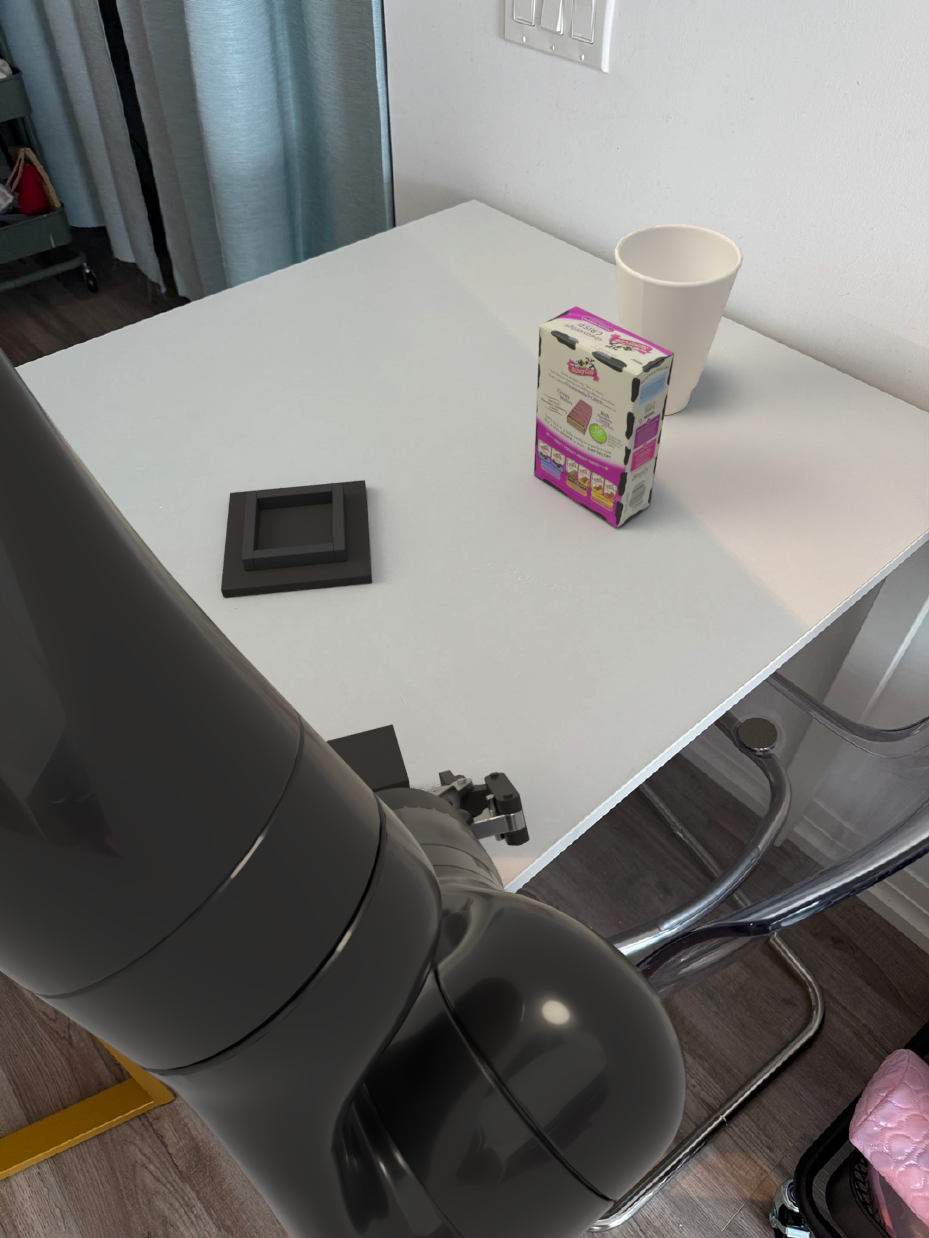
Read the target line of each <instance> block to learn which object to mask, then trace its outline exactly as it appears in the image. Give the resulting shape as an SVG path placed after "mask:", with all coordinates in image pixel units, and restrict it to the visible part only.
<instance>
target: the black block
mask: <svg viewBox="0 0 929 1238" xmlns="http://www.w3.org/2000/svg"><path fill="white" fill-rule="evenodd" d="M325 741H326V740H325ZM326 742H327V743H328V744H329V745H330V747H331V748H332V749H333V750H334V751H335V752H336V753H337V754H338V755H339V756H340V757H341V758H342V759H343V760H344V761H345V762H346V763H347V764H348V766H349V767H350V768H351V769H352V770H353V771H354V772H355V773H356V774H357V775H358V776H359V777H360V778H361V779H362V780H363V781H364V783H365V784H366V785H367V786H368V787H369V788H370V789H371V790H373V792H374V793H376V792H379V791H382V790H386V789H392V788H411V785H410V779H409V775H408V772H407V768H406V765H405V761H404V758H403V754H402V751H401V748H400V744H399V741H398V738H397V733H396V731H395V726H394V724H393V723H391V724H388V725H383V726H379V727H375V728H372V729H367V730H365V731H364V730H363V731H361V732H356V733H352V734H348V735H344V736H341V737H336V738H333V739H330V740H327V741H326Z"/></svg>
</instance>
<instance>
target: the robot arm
mask: <svg viewBox="0 0 929 1238" xmlns="http://www.w3.org/2000/svg"><path fill="white" fill-rule="evenodd" d="M438 778H439V783H440V785H437V786H432V787H431V788H429V789H428V790H424V789H420V788H413V787H410V788H392V789H386V790H382V791H379V792H376V793H374V792H373V790H371V789H370V788H369V787H368V786H367V785H366V784H365V783H364V781H363V780H362V779H361V778H360V777H359V776H358V775H357V774H356V773H355V772H354V771H353V770H352V769H351V768H350V767H349V766H348V764H347V763H346V762H345V761H344V760H343V759H342V758H341V757H340V756H339V755H338V754H337V753H336V752H335V751H334V750H333V749H332V748H331V747H330V745H329V744H328V743H327V742H326V739H324V738H323V737H322V736H321V735H320V734H319V733H318V731H317V730H316V729H314V727H313V726H312V725H311V724H310V722H308V721H307V720H306V719H305V717H303V715H302V714H300V713H299V712H298V710H297V709H296V708H295V707H294V706H293V705H292V704H291V703H290V701H288V699H286V698H285V696H284V695H282V693H281V692H280V691H279V690H278V689H277V688H276V687H275V686H274V685H273V684H272V683H271V682H270V681H269V680H268V679H267V678H266V677H265V676H264V675H263V674H262V672H261V671H260V670H259V669H258V668H257V667H256V666H255V665H254V664H253V663H252V662H251V661H250V660H249V659H248V658H247V657H246V656H245V655H244V654H243V652H241V650H240V649H239V648H238V647H237V646H236V645H235V644H234V643H233V642H232V641H231V640H230V639H229V637H228V636H226V634H225V633H224V632H223V631H222V629H220V627H219V626H218V625H217V624H216V623H215V622H214V621H213V620H212V619H211V617H210V616H209V615H207V613H206V612H205V610H203V609H202V607H201V606H200V605H199V604H198V603H197V602H196V600H194V598H193V597H192V596H191V595H190V594H189V593H188V592H187V591H186V590H185V588H184V587H183V586H182V585H181V584H180V583H179V582H178V581H177V579H175V578H174V576H173V574H171V572H170V571H168V569H167V568H166V566H164V564H163V563H162V562H161V560H160V559H159V558H158V556H156V554H155V553H154V552H153V550H152V549H151V548H150V546H148V544H147V543H146V542H145V540H144V539H143V538H142V537H141V536H140V534H139V533H138V532H137V530H136V529H135V528H134V527H133V526H132V524H131V523H130V522H129V521H128V520H127V518H126V516H124V514H123V513H122V511H120V509H119V508H118V506H117V505H116V503H115V502H114V501H113V500H112V498H111V497H110V496H109V494H108V493H107V492H106V490H105V489H104V488H103V487H102V485H101V484H100V482H99V481H98V480H97V479H96V477H95V476H94V474H93V473H92V472H91V471H90V469H89V468H88V466H87V465H86V464H85V463H84V461H83V460H82V458H81V457H80V456H79V455H78V454H77V452H76V451H75V449H74V448H73V446H72V445H71V444H70V442H69V441H68V440H67V439H66V437H65V436H64V434H63V433H62V431H61V430H60V428H59V427H58V426H57V425H56V424H55V422H54V420H53V419H52V418H51V416H50V415H49V414H48V412H47V411H46V409H45V408H44V407H43V406H42V405H41V403H40V402H39V400H38V399H37V397H36V396H35V395H34V394H33V392H32V390H31V389H30V388H29V387H28V385H27V384H26V382H25V381H24V379H23V378H22V376H21V375H20V373H19V372H18V370H17V369H16V367H15V366H14V365H13V363H12V362H11V360H10V359H9V357H8V355H7V354H6V353H5V351H4V350H3V348H2V347H1V346H0V972H2V973H3V974H5V976H7V977H8V978H10V979H11V980H13V981H15V982H16V983H17V984H19V985H20V986H21V987H23V988H25V989H26V990H28V991H30V992H31V993H32V994H33V995H35V996H36V997H38V998H39V999H41V1001H43V1002H45V1003H46V1004H48V1005H49V1006H51V1007H52V1008H54V1009H55V1010H56V1011H58V1012H59V1013H61V1014H62V1015H64V1016H65V1017H67V1018H68V1019H69V1020H71V1021H72V1022H74V1023H75V1024H77V1025H78V1026H79V1027H80V1028H82V1029H84V1030H85V1031H87V1032H88V1033H90V1034H91V1035H92V1036H94V1037H96V1039H98V1040H100V1041H101V1042H102V1043H104V1044H105V1045H107V1046H108V1047H109V1048H111V1049H113V1050H114V1051H116V1052H117V1053H118V1054H120V1055H121V1056H123V1057H124V1058H126V1059H127V1060H128V1061H130V1062H132V1063H134V1064H135V1065H137V1066H139V1068H141V1069H142V1070H143V1071H145V1072H146V1073H148V1074H149V1075H151V1076H152V1077H154V1078H155V1079H157V1080H159V1082H161V1083H163V1084H164V1085H165V1086H167V1087H169V1088H170V1089H171V1090H172V1091H173V1092H174V1093H175V1094H176V1095H177V1096H178V1097H179V1098H180V1099H181V1100H182V1101H183V1102H184V1103H185V1104H186V1105H187V1106H188V1107H189V1109H191V1111H192V1112H193V1113H194V1114H195V1115H196V1116H197V1118H198V1119H199V1120H200V1121H201V1122H202V1123H203V1125H205V1127H206V1129H208V1130H209V1131H210V1133H211V1134H212V1135H213V1136H214V1137H215V1138H216V1140H217V1141H218V1142H219V1144H220V1145H221V1146H222V1147H223V1149H224V1151H226V1152H227V1154H228V1155H229V1156H230V1157H231V1158H232V1160H233V1161H234V1162H235V1164H236V1165H237V1166H238V1167H239V1168H240V1170H241V1171H242V1172H243V1173H244V1175H245V1176H246V1178H247V1179H248V1180H249V1181H250V1183H251V1184H252V1185H253V1186H254V1188H255V1189H256V1190H257V1192H258V1193H259V1194H260V1195H261V1196H262V1198H263V1199H264V1201H265V1202H266V1204H267V1205H268V1207H269V1208H270V1210H271V1211H272V1212H273V1214H274V1215H275V1217H276V1218H277V1220H278V1221H279V1223H280V1224H281V1226H282V1228H283V1229H284V1230H285V1232H286V1234H287V1235H288V1237H289V1238H581V1237H582V1236H583V1235H584V1234H586V1232H588V1230H590V1228H591V1227H592V1226H594V1225H595V1224H596V1223H597V1222H598V1221H599V1220H601V1218H602V1217H603V1216H604V1215H605V1214H606V1213H608V1211H609V1210H610V1209H611V1208H612V1207H613V1206H614V1203H615V1202H614V1200H621V1198H622V1197H623V1196H625V1195H626V1194H627V1193H628V1192H629V1191H630V1190H631V1189H632V1188H633V1187H634V1186H635V1185H636V1184H637V1183H638V1182H639V1181H640V1180H641V1179H642V1178H643V1177H644V1176H645V1175H646V1174H647V1173H648V1172H649V1171H650V1170H651V1169H652V1168H653V1167H654V1166H655V1164H657V1163H658V1161H659V1160H660V1159H661V1158H662V1157H663V1156H664V1155H665V1153H666V1151H667V1150H668V1148H669V1147H670V1146H671V1144H672V1143H673V1141H674V1140H675V1137H676V1135H677V1134H678V1131H679V1129H680V1126H681V1125H682V1121H683V1117H684V1114H685V1110H686V1105H687V1095H688V1074H687V1073H688V1072H687V1058H686V1053H685V1051H684V1046H683V1043H682V1039H681V1035H680V1032H679V1029H678V1027H677V1025H676V1022H675V1020H674V1018H673V1016H672V1014H671V1012H670V1010H669V1008H668V1006H667V1004H666V1003H665V1002H664V1000H663V998H662V997H661V995H660V993H659V991H657V989H656V988H655V987H654V985H653V984H652V982H651V981H650V980H649V978H648V977H647V976H646V975H645V974H644V973H643V972H642V971H641V970H640V969H639V967H638V966H636V964H635V963H634V962H633V961H632V960H631V959H630V958H629V957H628V956H626V954H624V953H623V952H622V951H621V950H620V949H619V948H617V946H615V945H614V944H613V943H612V942H610V941H609V940H608V939H607V938H605V937H604V936H602V935H601V934H600V933H598V932H597V931H595V930H594V929H593V928H591V927H589V926H588V925H586V924H584V923H583V922H581V920H578V919H576V918H575V917H574V916H571V915H569V914H568V913H566V912H563V911H562V910H559V909H558V908H555V907H554V906H551V905H549V904H547V903H544V902H542V901H539V900H536V899H534V898H531V897H528V896H525V895H523V894H520V893H517V892H511V891H507V890H505V887H504V883H503V880H502V877H501V875H500V873H499V870H498V868H497V867H496V864H495V863H494V861H493V859H492V857H491V856H490V855H489V853H488V852H487V850H486V849H485V847H484V845H483V844H482V843H481V841H480V840H482V839H486V838H490V837H494V840H495V841H496V842H500V841H503V840H504V841H505V843H506V845H507V846H510V847H518V846H523V845H524V844H526V843H528V842H529V841H530V834H529V830H528V826H527V822H526V818H525V817H526V816H525V811H524V807H523V804H522V799H521V794H520V793H519V791H518V789H516V787H515V785H514V784H513V783H512V782H511V779H509V778H508V776H507V775H506V773H505V772H499V771H494V772H490V773H489V774H487V775H485V776H484V777H483V779H484V783H480V784H474V781H473V778H471V777H468V778H467V777H466V776H465V775H464V774H456V775H454V773H453V772H452V771H451V770H450V769H448V770H444V771H440V772H438Z"/></svg>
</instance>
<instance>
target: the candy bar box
mask: <svg viewBox="0 0 929 1238" xmlns="http://www.w3.org/2000/svg"><path fill="white" fill-rule="evenodd" d="M538 327H539V329H538V330H539V331H538V355H537V356H538V357H537V361H538V362H537V386H536V387H537V388H536V412H535V415H536V417H535V437H534V438H535V440H534V464H533V475H534V476H535V477H536V478H537V479H539V480H541V481H542V482H544V483H545V484H547V485H549V486H550V487H551V488H553V489H555V490H556V491H559V492H560V493H561V494H563V495H565V496H566V497H568V498H569V499H571V500H572V501H574V502H576V503H578V504H579V505H581V506H582V507H583V508H585V509H587V510H589V511H590V512H592V513H593V514H595V515H596V516H598V517H600V518H602V520H604V521H606V522H608V524H610V525H612V526H614V527H615V528H620V527H621V526H623V525H624V524H626V523H627V522H628V521H630V520H631V519H633V518H634V517H636V516H637V515H639V514H640V513H643V512H644V511H645V510H646V509H648V507H650V505H651V502H652V501H651V499H652V495H653V487H654V481H655V476H656V469H657V462H658V456H659V450H660V445H661V438H662V437H661V436H662V432H663V431H662V430H663V425H664V420H665V415H664V414H665V408H666V401H667V396H668V389H669V383H670V377H671V371H672V365H673V358H674V354H675V353H673V352H671V351H669V350H667V349H665V348H662V347H660V346H658V345H656V344H654V343H652V342H650V341H648V340H646V339H644V338H642V337H640V336H638V335H635V334H633V333H631V332H629V331H627V330H625V329H623V328H621V327H619V325H617V324H616V323H612V322H610V321H609V320H606V319H604V318H602V317H601V316H598V315H596V314H594V313H591V312H589V311H588V310H585V309H584V308H581V307H580V306H577V305H576V306H573V307H572V308H569V309H568V310H565V311H563V312H562V313H560V314H558V315H556V316H554V317H552V318H551V319H549V320H547V321H545V322H543V323H541V324H539V326H538Z"/></svg>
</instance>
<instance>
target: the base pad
mask: <svg viewBox="0 0 929 1238" xmlns="http://www.w3.org/2000/svg"><path fill="white" fill-rule="evenodd" d="M367 495H368V494H367V483H366V479H362V480H351V481H340V482H330V483H321V484H320V483H319V484H308V485H298V486H287V487H277V488H265V489H255V490H246V491H235V492H230V493H229V498H228V509H227V510H228V511H227V519H226V533H225V542H224V552H223V564H222V573H221V585H220V592H221V595H222V597H223V598H233V597H243V596H253V595H265V594H273V593H275V594H276V593H284V592H292V591H293V592H294V591H303V590H304V591H305V590H315V589H323V588H333V587H335V588H336V587H343V586H353V585H364V584H372V582H373V581H372V580H373V579H372V565H371V564H372V562H371V549H370V548H371V547H370V545H371V544H370V530H369V512H368V497H367Z"/></svg>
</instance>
